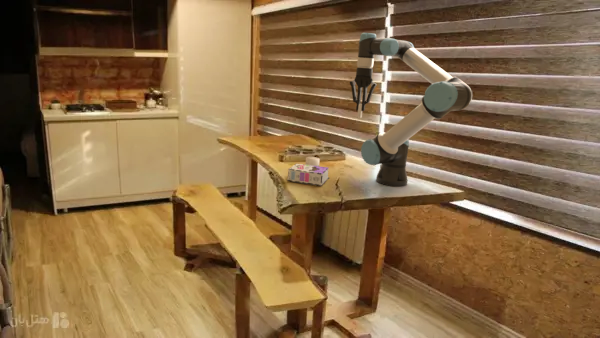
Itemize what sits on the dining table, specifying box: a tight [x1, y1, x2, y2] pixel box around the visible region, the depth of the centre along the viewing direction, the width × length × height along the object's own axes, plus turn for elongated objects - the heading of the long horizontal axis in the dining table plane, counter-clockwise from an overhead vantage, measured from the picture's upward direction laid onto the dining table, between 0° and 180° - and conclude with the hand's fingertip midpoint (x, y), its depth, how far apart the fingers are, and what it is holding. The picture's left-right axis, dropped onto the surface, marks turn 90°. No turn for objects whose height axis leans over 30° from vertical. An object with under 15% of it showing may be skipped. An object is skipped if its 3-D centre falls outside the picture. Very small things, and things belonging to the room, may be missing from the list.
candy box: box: [287, 163, 329, 186], centre depth 218 cm, size 14×6×16 cm
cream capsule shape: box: [305, 156, 321, 166], centre depth 236 cm, size 7×7×7 cm
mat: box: [291, 176, 330, 187], centre depth 221 cm, size 12×18×1 cm, turn 157°
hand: (359, 117), depth 222 cm, fingers closed
